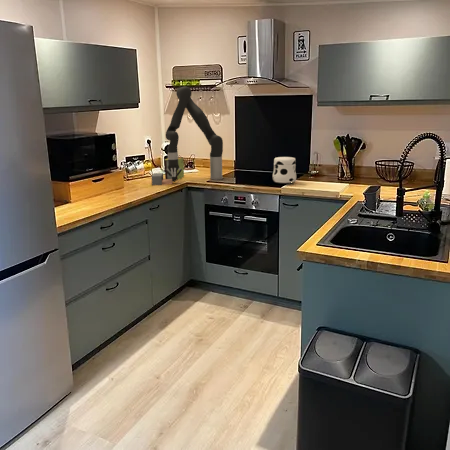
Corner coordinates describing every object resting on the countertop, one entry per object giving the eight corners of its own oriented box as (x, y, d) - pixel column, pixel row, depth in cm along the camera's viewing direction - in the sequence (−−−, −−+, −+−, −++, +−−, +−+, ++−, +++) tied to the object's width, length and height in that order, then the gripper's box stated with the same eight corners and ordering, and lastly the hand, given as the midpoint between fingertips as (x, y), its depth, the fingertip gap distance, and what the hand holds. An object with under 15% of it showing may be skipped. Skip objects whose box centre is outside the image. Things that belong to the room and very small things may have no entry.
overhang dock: (163, 181, 343) (163, 173, 342) (161, 184, 332) (161, 176, 330) (154, 181, 343) (153, 173, 342) (152, 185, 332) (151, 176, 330)
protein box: (184, 176, 363) (183, 156, 358) (177, 180, 348) (176, 159, 344) (171, 175, 365) (171, 156, 361) (164, 179, 351) (163, 159, 346)
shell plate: (173, 182, 342) (172, 179, 341) (171, 184, 334) (171, 181, 333) (155, 182, 342) (155, 179, 341) (154, 184, 334) (154, 181, 333)
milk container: (301, 182, 331) (301, 158, 326) (285, 186, 320) (286, 161, 315) (282, 179, 344) (283, 155, 338) (267, 183, 332) (267, 158, 327)
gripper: (182, 157, 336) (183, 180, 341) (164, 157, 336) (166, 180, 341) (181, 159, 329) (182, 182, 334) (163, 159, 329) (164, 182, 334)
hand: (174, 181), depth 337 cm, fingers closed
